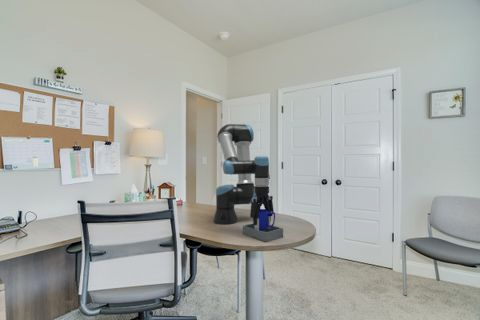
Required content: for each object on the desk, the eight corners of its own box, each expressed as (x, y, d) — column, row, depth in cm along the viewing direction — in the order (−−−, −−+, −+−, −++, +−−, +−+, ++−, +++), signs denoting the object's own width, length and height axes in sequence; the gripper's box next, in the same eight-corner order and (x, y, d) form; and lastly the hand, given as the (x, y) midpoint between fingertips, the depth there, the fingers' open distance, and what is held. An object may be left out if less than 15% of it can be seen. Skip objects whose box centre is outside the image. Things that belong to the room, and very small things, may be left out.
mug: (274, 232, 123) (274, 212, 123) (251, 231, 126) (250, 212, 126) (276, 227, 131) (275, 209, 131) (254, 226, 134) (253, 208, 134)
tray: (242, 234, 132) (242, 225, 132) (259, 229, 139) (259, 221, 139) (265, 242, 118) (265, 233, 118) (283, 236, 126) (283, 228, 126)
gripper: (252, 187, 119) (252, 235, 119) (280, 184, 132) (281, 227, 132) (242, 186, 125) (242, 231, 125) (270, 184, 138) (271, 224, 138)
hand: (262, 229), depth 129 cm, fingers closed on mug, 7 cm apart
